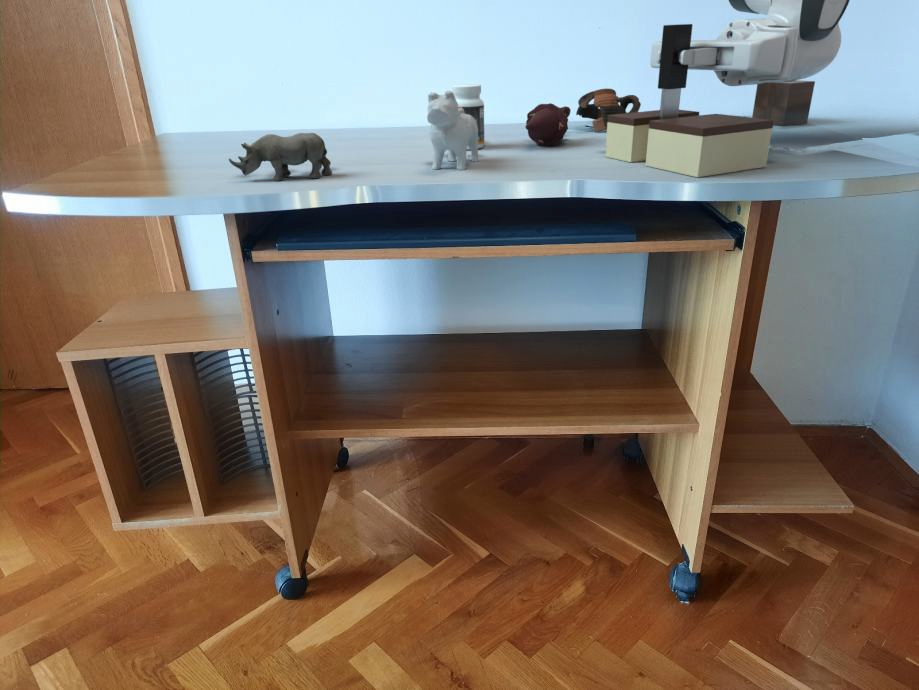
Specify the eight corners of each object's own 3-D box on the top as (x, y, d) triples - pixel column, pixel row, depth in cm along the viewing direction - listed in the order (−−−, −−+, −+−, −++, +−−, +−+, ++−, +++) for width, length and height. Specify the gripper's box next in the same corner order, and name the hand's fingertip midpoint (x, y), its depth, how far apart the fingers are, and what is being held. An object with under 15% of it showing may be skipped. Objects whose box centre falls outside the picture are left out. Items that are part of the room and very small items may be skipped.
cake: (766, 167, 86) (774, 120, 83) (697, 177, 81) (703, 128, 79) (710, 156, 94) (716, 113, 91) (645, 165, 89) (649, 120, 87)
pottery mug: (579, 135, 120) (571, 93, 121) (584, 151, 129) (577, 112, 130) (644, 117, 117) (635, 74, 117) (645, 134, 126) (637, 94, 126)
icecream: (553, 110, 98) (589, 109, 110) (512, 97, 101) (552, 97, 113) (540, 155, 102) (577, 149, 113) (501, 141, 104) (541, 136, 116)
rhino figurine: (235, 178, 91) (227, 134, 89) (332, 172, 93) (327, 129, 90) (230, 184, 88) (221, 139, 85) (331, 178, 89) (326, 133, 87)
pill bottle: (449, 150, 107) (446, 87, 103) (454, 145, 112) (451, 84, 108) (482, 150, 106) (481, 86, 102) (486, 144, 111) (485, 83, 107)
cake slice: (694, 153, 96) (699, 111, 94) (630, 162, 92) (634, 118, 89) (667, 148, 101) (671, 108, 99) (605, 156, 97) (607, 115, 94)
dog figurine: (421, 174, 90) (415, 93, 85) (449, 158, 100) (446, 85, 96) (457, 175, 88) (453, 92, 83) (482, 158, 99) (480, 84, 94)
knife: (679, 147, 93) (692, 23, 86) (663, 149, 92) (675, 24, 85) (668, 145, 95) (680, 24, 88) (652, 147, 94) (663, 25, 87)
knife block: (806, 129, 115) (815, 81, 111) (782, 132, 112) (790, 83, 109) (773, 125, 120) (781, 79, 117) (750, 128, 118) (757, 81, 115)
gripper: (694, 30, 100) (623, 33, 95) (809, 26, 83) (730, 30, 78) (689, 74, 103) (620, 79, 98) (799, 79, 86) (722, 85, 81)
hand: (669, 57), depth 88 cm, fingers closed on knife, 2 cm apart
